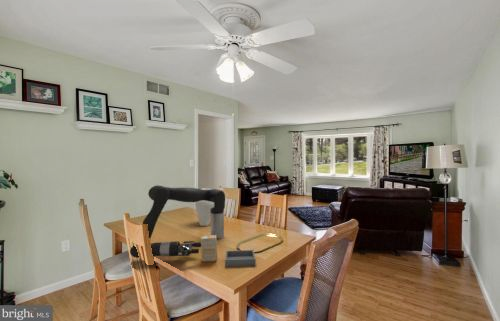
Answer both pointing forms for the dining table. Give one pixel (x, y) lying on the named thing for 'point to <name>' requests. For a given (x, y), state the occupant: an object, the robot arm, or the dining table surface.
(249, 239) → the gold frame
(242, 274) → the dining table surface
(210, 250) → the supplement box
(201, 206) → the vase
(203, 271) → the dining table surface
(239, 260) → the organiser tray
